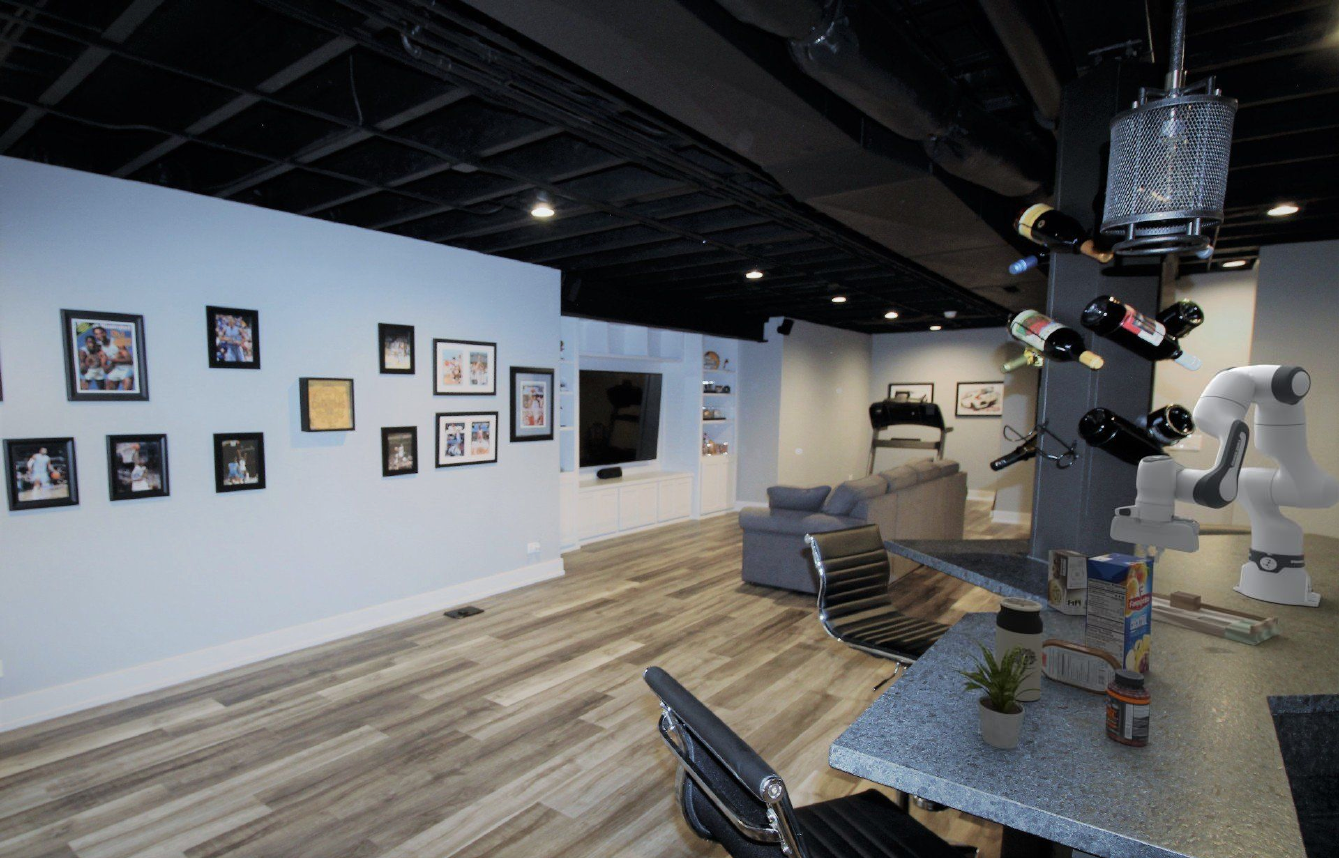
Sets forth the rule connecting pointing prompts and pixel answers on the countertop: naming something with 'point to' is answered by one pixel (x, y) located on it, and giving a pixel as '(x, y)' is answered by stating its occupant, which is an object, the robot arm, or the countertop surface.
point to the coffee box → (1067, 581)
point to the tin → (1078, 665)
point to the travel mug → (1021, 641)
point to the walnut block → (1185, 601)
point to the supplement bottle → (1128, 708)
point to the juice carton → (1120, 608)
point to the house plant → (999, 698)
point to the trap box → (1216, 620)
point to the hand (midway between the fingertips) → (1151, 561)
